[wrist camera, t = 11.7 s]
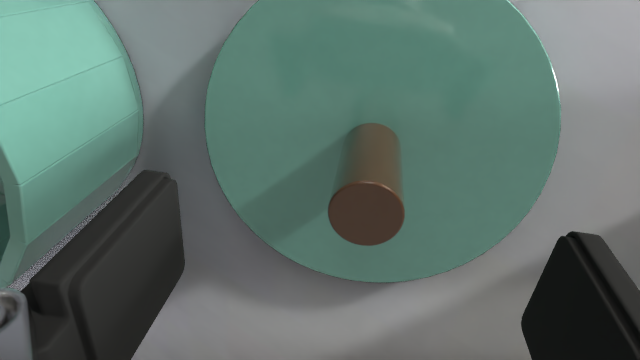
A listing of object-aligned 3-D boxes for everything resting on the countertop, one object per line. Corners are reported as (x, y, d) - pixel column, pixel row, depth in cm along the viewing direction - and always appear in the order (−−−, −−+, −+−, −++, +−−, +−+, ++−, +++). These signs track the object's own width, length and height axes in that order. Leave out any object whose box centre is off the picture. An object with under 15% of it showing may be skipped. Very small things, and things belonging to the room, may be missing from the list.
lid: (206, -67, 16) (112, -75, 10) (613, -26, 14) (743, -11, 9) (218, 244, 23) (165, 335, 17) (493, 289, 21) (528, 401, 16)
